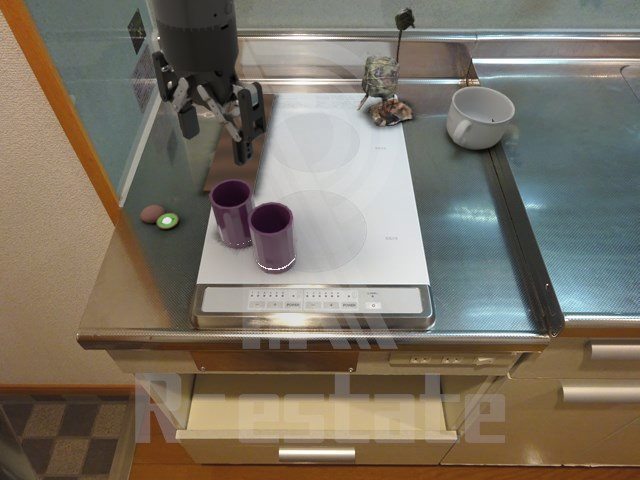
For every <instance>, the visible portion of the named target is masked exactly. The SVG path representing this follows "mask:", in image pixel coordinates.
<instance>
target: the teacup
mask: <svg viewBox="0 0 640 480" xmlns="http://www.w3.org/2000/svg"><path fill="white" fill-rule="evenodd" d="M515 109H516V108H515V104H514V103H513V101H512V100H511V99H510V98H509V97H508V96H506V95H505V94H503V93H502V92H500V91H498V90H495V89H492V88H489V87H486V86H479V85H477V86H476V85H475V86H472V85H471V86H465V87H461V88H460V89H458V90H456V91H455V93H453V95H452V98H451V103H450V106H449V110H448V113H447V117H446V126H445V127H446V131H447V134H448V135H449V137H450V138H451V139H452V141H453V143H455V144H457V145H458V146H460V147H462V148H465V149H468V150H474V151H477V150H484V149H489V148H491V147H493V146H495V145H496V144H498V142H500V141H501V139H502V138H503V136H504V134H505V132H506V130H507V129H508V127H509V125H510V122H511V121H512V119H513V117H514V116H515V113H516V110H515ZM492 119H493V120H494V121H495V122H492Z"/></svg>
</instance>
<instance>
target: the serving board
mask: <svg viewBox="0 0 640 480" xmlns="http://www.w3.org/2000/svg"><path fill="white" fill-rule="evenodd" d="M275 97H276V96H275V93H263V101H264V110H265V119H266V129H267V132H266V133H265V134H263V135H261V136H260V137H258V138H257V139H255V140H254V141H253V142H252V146H253V148H252V149H253V158H252V159H251V160H250V161H248V162H247V163H246V164H244V165H243V166H241V167H240V166H238V165H236V164H235V163H234V155H233V147H232V139H233V137H232V136H231V134H230V132H229V131H228V129H227V127H226V126H225V125H224V124H223V128H222V130H221V134H220V137H219V140H218V142H217V146H216V149H215V152H214V156H213V158H212V162H211V165H210V168H209V171H208V174H207V177H206V180H205V183H204V187H203V189H202V190H203V193H204V194H210V192H211V190H212V188H213V187H214V186H215V185H216V184H218V183H220V182H222V181H224V180H228V179H241V180H243V181H245V182H247V183H248V184H249V185H250V186H251V187H252V191H253V195H254V194H255V191H256V190H255V189H256V185H257V179H258V176H259V170H260V166H261V162H262V158H263V152H264V148H265V143H266V139H267V136H268V135H267V134H268V130H269V124H270V121H271V115H272V111H273V106H274V102H275ZM233 109H234V104H233V103H232V101H231V102H230V104H229V109H228V112H230V111H232V110H233ZM234 122H235V123H236V125H237V127H238V128H240V127H241V126H242V125H241V123H240V121H239V119H238V118H237V117H235V118H234ZM253 125H255V121H254V123H253Z"/></svg>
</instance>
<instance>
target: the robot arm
mask: <svg viewBox="0 0 640 480" xmlns="http://www.w3.org/2000/svg"><path fill="white" fill-rule="evenodd" d="M151 5H152V9H153V13H154V19H155V23H156V28H157V32H158V36H159V40H160V46H161V49H159V50H157V51H154V52H152V54H151V59H152V65H153V68H154V73H155V79H156V83H157V88H158V93H159V97H160V99H161V100H162V101H163V102H164V103H168V102H169V103H170V104H171V108H172V110H173V111H174V112H176V114H177V119H178V123H179V128H180V131H181V134H182V137H183V138H184V139H186V140H188V141H190V140H191V139H193V138H195V137H196V136H198V135H199V134H200V132H201V128H200V124H199V118H198V112H197V108H196V106H199V107H200V106H201V107H204V109H206V110H208V111H210V112H211V113H213V115H214V117H215V119H216V120H217V122H218V124H220V125H223V126H224V125H225V126H226V127H227V129H228V131H229V132H230V134H231V136H232V137H233V139H232V147H233V155H234V163H235V164H236V165H238V166H240V167H241V166H243V165H244V164H246V163H247V162H248V161H250V160H251V159H252V158H253V149H252V148H253V146H252V142H253V141H254V140H255V139H257V138H258V137H260V136H261V135H263V134H265V133H266V132H267V133H268V130H267V129H266V119H265V110H264V101H263V94H264V93H263V86H262V85H261V83H260V82H259V81H255V80H254V81H253V82H251V83H246V82H243V81H240V78H239V76H238V74H237V71H236V63H237V60H238V56H239V53H240V48H239V47H240V46H239V38H238V26H237V25H238V24H237V17H236V7H235V0H151ZM169 83H171V86H170V87H169ZM231 102H232V103H233V104H234V109H233V110H232V111H230V112H229V111H228V112H226V111H225V108H227V107H228V106H230V105H231ZM194 104H195V105H196V106H195V105H194ZM235 117H237V118H238V119H239V121H240V123H241V125H242V126H241V127H240V128H238V127H237V125H236V123H235V122H234V118H235ZM254 121H255V125H253V123H254ZM0 480H40V478H39V476H38V474H37V472H36V469H35V468H34V466H33V464H32V462H31V460H30V458H29V456H28V455H27V452H26V450H25V449H24V447H23V444H22V442H21V440H20V439H19V437H18V434H16V430H14V428H13V425H12V423H11V422H10V420H9V418H8V415H7V414H6V412H5V410H4V408H3V405H2V404H1V403H0Z"/></svg>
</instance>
